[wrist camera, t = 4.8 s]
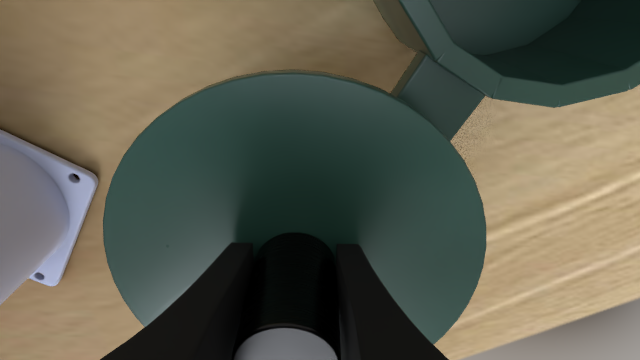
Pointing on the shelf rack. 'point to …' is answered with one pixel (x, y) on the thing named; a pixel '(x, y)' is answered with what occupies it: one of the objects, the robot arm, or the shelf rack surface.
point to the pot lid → (295, 207)
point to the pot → (512, 53)
